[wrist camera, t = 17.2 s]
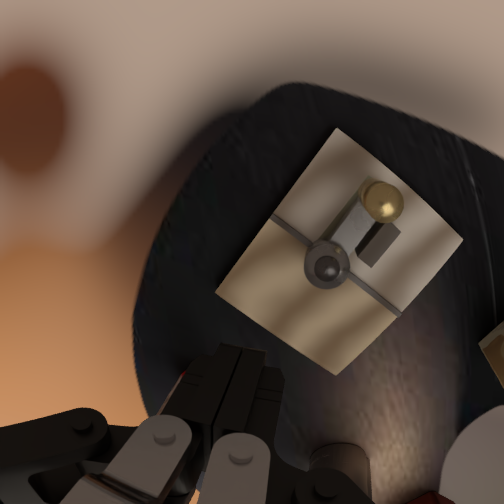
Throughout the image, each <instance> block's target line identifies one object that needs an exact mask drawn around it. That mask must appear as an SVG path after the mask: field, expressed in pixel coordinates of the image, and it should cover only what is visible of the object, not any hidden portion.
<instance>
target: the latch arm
mask: <svg viewBox="0 0 504 504" xmlns="http://www.w3.org/2000/svg"><path fill="white" fill-rule="evenodd" d="M403 208H404V199H403V196H402V194H401V192H400V191H399V189H397V188H396V187H395V186H393V185H391V184H389V183H386V182H384V181H382V180H380V179H377V178H370V179H367V180H365V181H364V182H363V183H362V184H361V185H360V187H359V189H358V196H357V198H356V199H355V201H354V202H353V203H352V205H351V206H350V208H349V209H348V210H347V212H346V213H345V215H344V216H343V217H342V219H341V220H340V221H339V223H338V224H337V226H336V227H335V228H334V230H333V231H332V232H331V234H330V235H329V236H328V238H321V239H318V240H316V241H314V242H313V243H312V244H310V246H309V247H308V248H307V250H306V253H305V259H304V273H305V276H306V278H307V280H308V281H309V282H310V283H311V284H312V285H313V286H315V287H317V288H320V289H333V288H336V287H338V286H340V285H341V284H343V283H344V282H345V281H346V279H347V278H348V276H349V273H350V261H349V255H350V254H351V253H352V252H353V250H354V249H355V248H356V246H357V245H358V244H359V242H360V241H361V240H362V238H363V237H364V236H365V234H366V233H367V232H368V230H369V229H370V228H371V226H372V225H373V224H374V222H375V221H378V222H380V223H390V222H393V221H395V220H396V219H397V218H399V216H400V215H401V213H402V211H403Z"/></svg>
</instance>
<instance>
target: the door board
mask: <svg viewBox="0 0 504 504" xmlns="http://www.w3.org/2000/svg"><path fill="white" fill-rule="evenodd" d="M370 178H377V179H380V180H382V181H384V182H386V183H389V184H391V185H393V186H395V187H396V188H397V189H399V191H400V192H401V194H402V196H403V199H404V208H403V211H402V213H401V215H400V216H399V218H397V219H396V220H395V221H393V222H390V223H380V222H378V221H375V222H374V224H373V225H372V226H371V228H370V229H369V230H368V232H367V233H366V234H365V236H364V237H363V238H362V240H361V241H360V242H359V244H358V245H357V246H356V248H355V249H354V250H353V252H352V253H351V254H350V255H349V261H350V273H349V276H348V278H347V279H346V281H345V282H344V283H343V284H341V285H340V286H338V287H336V288H333V289H320V288H317V287H315V286H313V285H312V284H311V283H310V282H309V281H308V280H307V278H306V276H305V273H304V259H305V253H306V250H307V248H308V247H309V246H310V244H312V243H313V242H314V241H316V240H318V239H321V238H328V236H329V235H330V234H331V232H332V231H333V230H334V228H335V227H336V226H337V224H338V223H339V221H340V220H341V219H342V217H343V216H344V215H345V213H346V212H347V210H348V209H349V208H350V206H351V205H352V203H353V202H354V201H355V199H356V198H357V196H358V189H359V187H360V185H361V184H362V183H363V182H364V181H365V180H367V179H370ZM462 241H463V239H462V238H461V237H460V236H459V235H458V234H457V233H456V232H455V231H454V230H453V229H452V228H451V227H450V226H449V225H448V224H447V223H446V222H445V221H444V220H443V219H442V218H441V217H440V216H439V215H438V214H437V213H436V212H435V211H434V210H433V209H432V208H431V207H430V206H429V205H428V204H427V203H426V202H425V201H424V200H423V199H422V198H421V197H420V196H418V195H417V194H416V193H415V192H414V191H413V190H412V189H411V188H410V187H409V186H407V185H406V184H405V183H404V182H403V181H402V180H401V179H400V178H398V177H397V176H396V175H395V174H394V173H393V172H391V171H390V170H389V169H388V168H387V167H386V166H384V165H383V164H382V163H381V162H380V161H378V160H377V159H376V158H375V157H374V156H372V155H371V154H370V153H369V152H367V151H366V150H365V149H364V148H362V147H361V146H360V145H359V144H357V143H356V142H355V141H353V140H352V139H351V138H350V137H348V136H347V135H346V134H344V133H343V132H342V131H340V130H339V129H338V128H336V129H335V130H334V132H333V133H332V135H331V136H330V137H329V139H328V140H327V141H326V143H325V144H324V145H323V147H322V148H321V149H320V151H319V152H318V153H317V155H316V156H315V157H314V159H313V160H312V161H311V163H310V164H309V165H308V167H307V168H306V169H305V171H304V172H303V173H302V175H301V176H300V178H299V179H298V180H297V182H296V183H295V184H294V186H293V187H292V188H291V190H290V191H289V192H288V194H287V195H286V196H285V198H284V199H283V200H282V202H281V203H280V204H279V206H278V207H277V209H276V210H275V211H274V213H273V214H272V215H271V217H270V218H269V219H268V221H267V222H266V223H265V225H264V226H263V228H262V229H261V230H260V232H259V233H258V234H257V236H256V237H255V238H254V240H253V241H252V242H251V244H250V245H249V246H248V248H247V249H246V251H245V252H244V253H243V255H242V256H241V257H240V259H239V260H238V261H237V263H236V264H235V266H234V267H233V268H232V270H231V271H230V272H229V274H228V275H227V276H226V278H225V279H224V281H223V282H222V283H221V285H220V286H219V287H218V289H217V290H216V292H215V293H216V294H218V295H219V296H220V297H222V298H223V299H224V300H226V301H227V302H229V303H230V304H231V305H233V306H234V307H236V308H237V309H238V310H240V311H241V312H243V313H244V314H245V315H247V316H248V317H250V318H251V319H253V320H254V321H255V322H257V323H258V324H260V325H261V326H263V327H264V328H265V329H267V330H268V331H270V332H271V333H273V334H274V335H276V336H277V337H278V338H280V339H281V340H283V341H284V342H286V343H287V344H289V345H290V346H292V347H293V348H295V349H296V350H298V351H299V352H301V353H302V354H304V355H305V356H307V357H308V358H310V359H311V360H313V361H314V362H316V363H317V364H319V365H320V366H322V367H323V368H325V369H326V370H328V371H329V372H331V373H333V374H334V375H337V374H338V373H339V372H341V371H342V370H343V369H344V368H345V367H346V366H347V365H348V364H349V363H351V362H352V361H353V360H354V359H355V358H356V357H357V356H358V355H359V354H360V353H361V352H362V351H363V350H364V349H365V348H366V347H368V346H369V345H370V344H371V343H372V342H373V341H374V340H375V339H376V338H377V337H378V336H379V335H380V334H381V333H382V332H383V331H384V330H385V329H386V328H387V327H388V326H389V325H390V324H391V323H392V322H393V321H394V320H395V318H396V317H398V318H399V317H400V316H401V315H402V313H401V312H402V311H403V310H404V309H405V308H406V307H407V306H408V305H409V304H410V303H411V301H412V300H413V299H414V298H415V297H416V296H417V295H418V294H419V293H420V291H421V290H422V289H423V288H424V287H425V286H426V285H427V284H428V282H429V281H430V280H431V279H432V278H433V277H434V275H435V274H436V273H437V272H438V271H439V269H440V268H441V267H442V266H443V265H444V263H445V262H446V261H447V260H448V259H449V257H450V256H451V255H452V254H453V252H454V251H455V250H456V249H457V247H458V246H459V245H460V243H461V242H462Z"/></svg>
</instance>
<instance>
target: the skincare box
mask: <svg viewBox="0 0 504 504" xmlns="http://www.w3.org/2000/svg"><path fill="white" fill-rule="evenodd" d="M478 344H479V346H480V348H481V350H482V351H483V353H484V355H485V356H486V358H487V360H488V362H489V363H490V365H491V367H492V368H493V370H494V372H495V374H496V375H497V377H498V379H499V381H500V383H501V384H502V386H503V388H504V321H503V322H502V323H501V324H499V325H498V326H497V327H496V328H495V329H494V330H493V331H492V332H490V333H489V334H488V335H487V336H486V337H485V338H484V339H483V340H481V341H480V342H479V343H478Z"/></svg>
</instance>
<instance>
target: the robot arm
mask: <svg viewBox="0 0 504 504" xmlns="http://www.w3.org/2000/svg"><path fill="white" fill-rule="evenodd" d="M266 356H267V351H264V350H258V349H253V348H247V347H244V348H243V347H241V346H235V345H230V344H225V343H221V344H220V345H219V347H218V349H217V351H216V353H215V355H214V357H213V356H208V355H204V354H202V355H201V356H199V357H198V358H196V359H195V360H193V361H192V362H191V363H190V365H189V366H188V368H187V370H186V371H185V374H184V375H183V376H182V378H181V380H180V383H178V385H177V386H176V388H175V390H174V392H173V393H172V395H171V397H170V398H169V400H168V402H167V403H166V405H165V407H164V408H163V410H162V412H161V413H160V415H156V416H152V417H149V418H148V419H146V420H144V421H143V422H142V423H141V424H140V425H139V426H136V427H128V426H116V425H108V424H107V421H106V418H105V417H104V416H103V415H102V414H101V413H100V412H98V411H97V410H94V409H91V408H76V409H72V410H69V411H65V412H61V413H58V414H54V415H51V416H47V417H43V418H39V419H35V420H30V421H26V422H22V423H18V424H13V425H9V426H4V427H0V504H189V502H190V500H191V498H192V496H193V495H194V493H195V490H196V484H197V481H198V479H199V476H200V474H201V471H204V472H206V473H205V477H204V480H203V484H202V487H201V491H200V494H199V498H198V502H197V504H375V503H374V502H373V501H372V489H371V472H370V460H369V459H367V458H366V454H365V452H364V451H363V450H362V449H361V448H360V447H358V446H355V445H351V444H332V445H328V446H325V447H322V448H320V449H318V450H317V451H315V452H314V453H313V454H312V456H311V458H310V467H309V471H308V472H305V471H303V470H300V469H298V468H295V467H293V466H291V465H289V464H287V463H286V462H284V461H283V460H282V459H281V458H280V457H279V456H278V455H277V453H276V451H275V449H274V436H275V431H276V426H277V420H278V415H279V410H280V404H281V399H282V393H283V388H284V382H285V379H284V377H283V374H282V372H281V370H280V369H279V368H273V367H267V366H265V364H266Z"/></svg>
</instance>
